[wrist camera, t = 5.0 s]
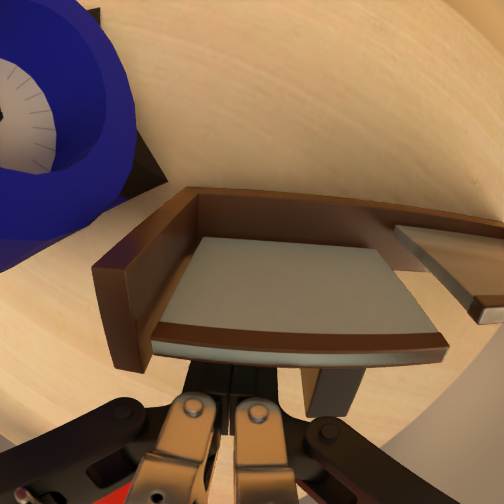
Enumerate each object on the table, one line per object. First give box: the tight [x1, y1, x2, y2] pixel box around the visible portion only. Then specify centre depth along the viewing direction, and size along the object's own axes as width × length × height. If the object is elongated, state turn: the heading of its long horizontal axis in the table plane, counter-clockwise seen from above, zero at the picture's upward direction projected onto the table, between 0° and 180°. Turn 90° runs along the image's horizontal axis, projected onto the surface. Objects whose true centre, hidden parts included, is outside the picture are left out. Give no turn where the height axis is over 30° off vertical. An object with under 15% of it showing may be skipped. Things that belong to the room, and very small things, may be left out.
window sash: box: [151, 237, 450, 418], centre depth 12 cm, size 4×9×8 cm, turn 87°
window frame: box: [91, 187, 504, 374], centre depth 12 cm, size 3×21×10 cm, turn 86°
